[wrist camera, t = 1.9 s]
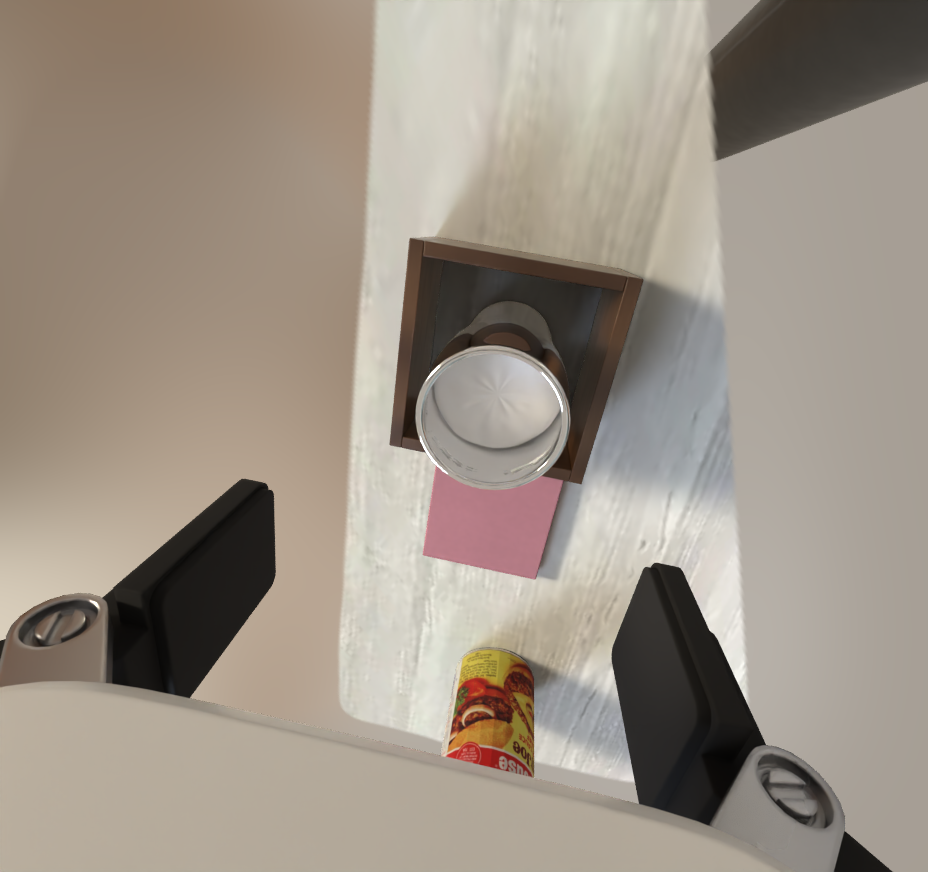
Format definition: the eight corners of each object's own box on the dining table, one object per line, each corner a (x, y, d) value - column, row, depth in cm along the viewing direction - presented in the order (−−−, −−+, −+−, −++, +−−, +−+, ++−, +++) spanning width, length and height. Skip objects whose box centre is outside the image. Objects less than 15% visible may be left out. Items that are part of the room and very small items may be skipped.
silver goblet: (447, 312, 33) (385, 369, 19) (543, 280, 31) (551, 317, 18) (477, 401, 35) (441, 508, 22) (568, 376, 34) (592, 475, 20)
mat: (441, 438, 37) (438, 443, 36) (566, 463, 36) (567, 469, 35) (424, 548, 42) (422, 555, 41) (535, 572, 41) (535, 580, 40)
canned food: (539, 702, 47) (540, 843, 37) (464, 703, 49) (444, 838, 38) (527, 645, 44) (526, 779, 34) (448, 648, 46) (422, 777, 35)
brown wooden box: (434, 236, 31) (409, 237, 25) (620, 268, 30) (643, 279, 24) (414, 407, 36) (389, 445, 30) (572, 439, 35) (581, 484, 29)
